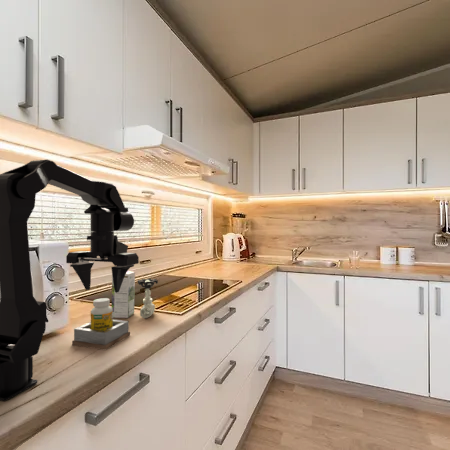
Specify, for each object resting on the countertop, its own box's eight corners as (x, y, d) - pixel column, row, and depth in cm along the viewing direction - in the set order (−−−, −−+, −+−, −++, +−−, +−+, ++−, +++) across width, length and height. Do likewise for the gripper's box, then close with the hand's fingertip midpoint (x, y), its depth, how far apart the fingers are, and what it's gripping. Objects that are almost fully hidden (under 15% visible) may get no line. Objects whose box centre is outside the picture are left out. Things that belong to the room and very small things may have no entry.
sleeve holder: (105, 350, 74) (105, 333, 74) (72, 345, 77) (72, 329, 77) (130, 335, 83) (130, 321, 83) (99, 331, 86) (99, 317, 86)
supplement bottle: (112, 331, 83) (112, 296, 83) (113, 338, 78) (113, 301, 78) (90, 334, 81) (90, 298, 81) (90, 341, 76) (90, 303, 76)
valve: (159, 313, 104) (159, 278, 104) (155, 319, 98) (155, 282, 98) (140, 313, 104) (140, 278, 104) (135, 319, 97) (135, 282, 97)
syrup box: (118, 312, 104) (118, 270, 104) (135, 313, 104) (135, 270, 104) (111, 318, 99) (111, 273, 99) (128, 318, 98) (128, 273, 98)
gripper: (150, 231, 85) (149, 287, 85) (94, 230, 90) (94, 283, 90) (125, 232, 74) (125, 296, 74) (64, 231, 80) (64, 291, 80)
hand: (102, 291), depth 80 cm, fingers open, 9 cm apart
